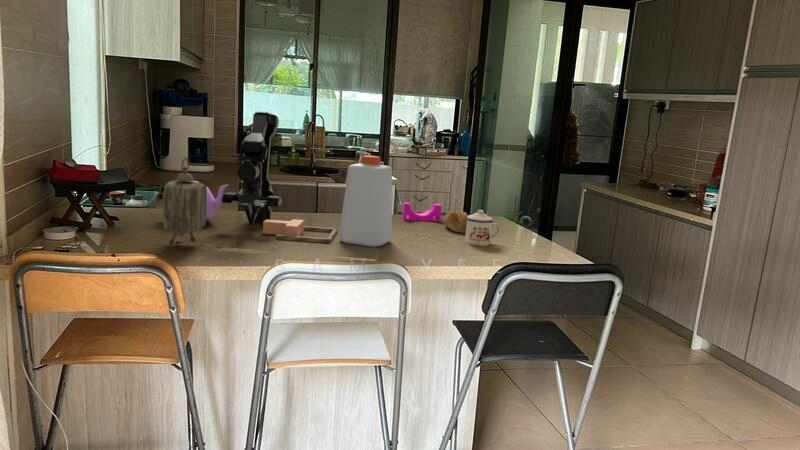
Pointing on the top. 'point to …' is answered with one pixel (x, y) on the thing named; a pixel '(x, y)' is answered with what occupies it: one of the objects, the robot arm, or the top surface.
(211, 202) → the teapot
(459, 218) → the bread roll
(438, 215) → the toy block
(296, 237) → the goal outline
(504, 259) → the top surface
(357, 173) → the plastic bottle
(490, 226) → the teacup with lid
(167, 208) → the tabletop clock
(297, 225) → the t puck
